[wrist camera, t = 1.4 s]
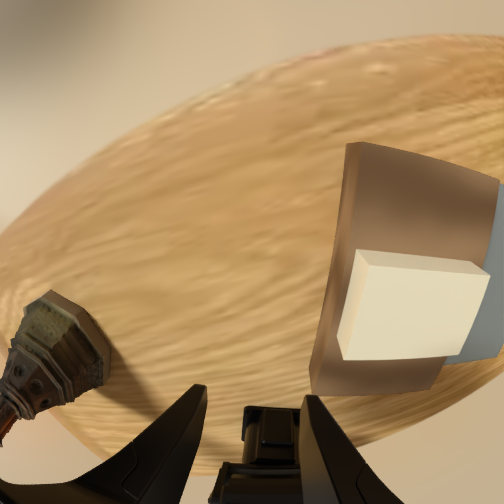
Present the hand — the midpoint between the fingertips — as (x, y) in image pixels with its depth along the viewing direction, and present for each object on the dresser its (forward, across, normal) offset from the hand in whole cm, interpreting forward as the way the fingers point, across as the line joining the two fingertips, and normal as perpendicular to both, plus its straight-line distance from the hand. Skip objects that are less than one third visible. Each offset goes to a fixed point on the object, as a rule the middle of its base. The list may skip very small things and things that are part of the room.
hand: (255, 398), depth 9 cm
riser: (+12, -10, 0) cm, 16 cm away
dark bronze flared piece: (+12, +18, +9) cm, 24 cm away
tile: (+8, -10, 0) cm, 13 cm away
